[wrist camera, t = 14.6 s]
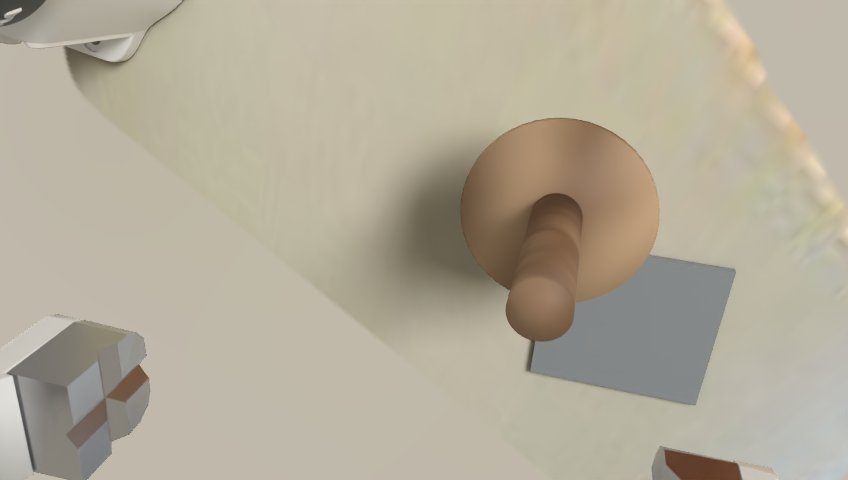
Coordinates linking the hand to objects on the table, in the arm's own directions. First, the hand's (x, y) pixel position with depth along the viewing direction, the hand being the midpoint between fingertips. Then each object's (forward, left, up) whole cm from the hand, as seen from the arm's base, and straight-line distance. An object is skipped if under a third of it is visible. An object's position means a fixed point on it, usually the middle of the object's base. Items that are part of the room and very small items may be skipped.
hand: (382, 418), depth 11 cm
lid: (+2, -6, -26) cm, 27 cm away
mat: (+8, -16, -33) cm, 37 cm away
